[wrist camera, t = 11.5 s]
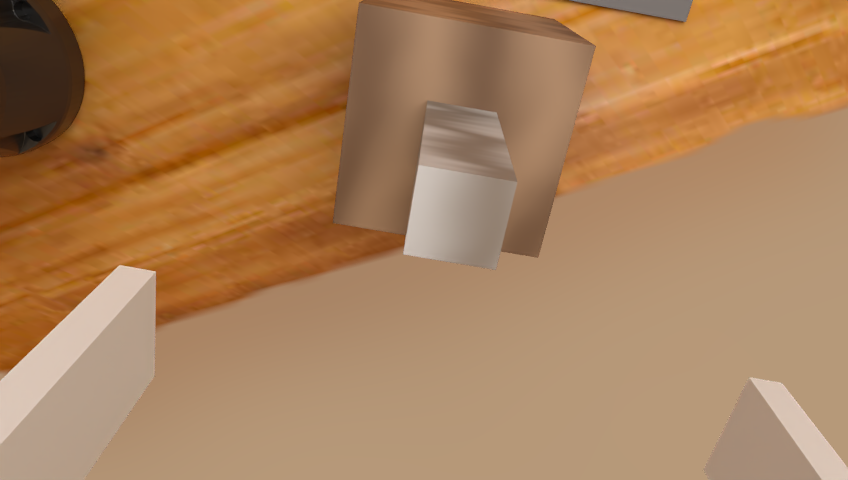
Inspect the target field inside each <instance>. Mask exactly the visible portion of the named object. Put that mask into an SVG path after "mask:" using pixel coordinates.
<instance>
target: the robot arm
mask: <svg viewBox="0 0 848 480" xmlns="http://www.w3.org/2000/svg"><path fill="white" fill-rule="evenodd" d="M83 92H84V67H83V61H82V57H81V53H80V49H79V46H78V43H77V41H76V38H75V36H74V34H73V31H72V29H71V28H70V26H69V24H68V22H67V20H66V19H65V17H64V16H63V14H62V13H61V11H60V10H59V9H58V7H57V6H56V5H55V3H54V2H53V1H52V0H0V157H7V156H14V155H19V154H23V153H26V152H29V151H32V150H34V149H36V148H38V147H40V146H42V145H44V144H47V143H49V142H50V141H52V140H54V139H55V138H57V137H58V136H60V135H61V134H62V133H63V132H64V131H65V130H66V129H67V128H68V127H69V126H70V124H71V123H72V121H73V120H74V118H75V116H76V115H77V113H78V110H79V108H80V105H81V102H82V97H83ZM155 311H156V271H150V270H145V269H139V268H133V267H128V266H122V265H119V266H118V267H117V268H116V269H115V270H114V271H113V272H112V273H111V274H110V275H109V276H108V277H107V278H106V279H105V280H104V281H103V282H102V283H101V284H100V285H99V286H98V287H97V288H95V289H94V290H93V291H92V292H91V293H90V294H89V295H88V296H87V297H86V298H85V299H84V300H83V301H82V302H81V303H80V304H79V305H78V306H77V307H76V308H75V309H74V310H73V311H72V312H71V313H70V314H69V315H68V316H67V317H66V318H65V319H63V320H62V321H61V322H60V323H59V324H58V325H57V326H56V327H55V328H54V329H53V330H52V331H51V332H50V333H49V334H48V335H47V336H46V337H45V338H44V339H43V340H42V341H41V342H40V343H39V344H38V345H37V346H36V347H35V348H34V349H33V350H31V351H30V352H29V353H28V354H27V355H26V356H25V357H24V358H23V359H22V360H21V361H20V362H19V363H18V364H17V365H16V366H15V367H14V368H13V369H12V370H11V371H10V372H9V373H8V374H7V375H6V376H5V377H4V378H3V379H2V380H0V480H84V479H85V477H86V476H87V475H88V473H89V472H90V470H91V469H92V467H93V466H94V464H95V463H96V461H97V460H98V458H99V457H100V456H101V454H102V452H103V451H104V450H105V448H106V447H107V445H108V444H109V442H110V441H111V439H112V438H113V436H114V435H115V434H116V432H117V431H118V429H119V428H120V426H121V425H122V423H123V422H124V420H125V419H126V417H127V416H128V414H129V413H130V412H131V410H132V409H133V407H134V406H135V404H136V402H137V401H138V400H139V398H140V397H141V395H142V394H143V392H144V391H145V389H146V388H147V387H148V385H149V384H150V382H151V381H152V379H153V378H154V376H155ZM704 471H705V473H706V475H707V477H708V479H709V480H848V468H847V466H846V465H845V464H844V463H843V461H842V460H841V458H840V457H839V456H838V455H837V453H836V452H835V451H834V449H833V448H832V447H831V446H830V444H829V443H828V442H827V440H826V439H825V438H824V437H823V435H822V434H821V433H820V431H819V430H818V429H817V428H816V426H815V425H814V424H813V422H812V421H811V420H810V419H809V417H808V416H807V415H806V413H805V412H804V411H803V410H802V408H801V407H800V406H799V405H798V403H797V402H796V400H795V399H794V398H793V397H792V395H791V394H790V393H789V391H788V390H787V389H786V388H785V386H784V385H783V384H782V383H779V382H773V381H767V380H762V379H756V378H751V377H749V378H748V380H747V382H746V384H745V386H744V389H743V390H742V393H741V395H740V397H739V399H738V401H737V403H736V405H735V407H734V409H733V411H732V413H731V415H730V417H729V419H728V421H727V423H726V425H725V427H724V429H723V431H722V433H721V435H720V437H719V439H718V441H717V443H716V445H715V448H714V450H713V452H712V454H711V456H710V458H709V460H708V462H707V464H706V466H705V468H704Z"/></svg>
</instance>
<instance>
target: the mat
mask: <svg viewBox="0 0 848 480" xmlns="http://www.w3.org/2000/svg"><path fill="white" fill-rule="evenodd" d="M571 1H576V2H581V3H587V4H592V5H598V6H603V7H608V8H614V9H619V10H625V11H630V12H635V13H641V14H646V15H652V16H657V17H662V18H668V19H673V20H679V21H684V22H686V20H687V17H688V14H689V11H690V8H691V4H692V1H693V0H571Z"/></svg>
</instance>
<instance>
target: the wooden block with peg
mask: <svg viewBox="0 0 848 480" xmlns="http://www.w3.org/2000/svg"><path fill="white" fill-rule="evenodd" d="M595 47H596V46H595V45H593V44H592V43H590V42H589V41H587V40H586V39H584V38H582V37H581V36H579V35H578V34H576V33H575V32H573V31H572V30H570V29H569V28H567V27H565V26H564V25H562V24H561V23H559V22H558V21H556V20H555V19H550V18H545V17H540V16H534V15H529V14H523V13H518V12H512V11H507V10H502V9H496V8H491V7H485V6H480V5H474V4H469V3H463V2H458V1H453V0H363V1H361V2H360V3H359V8H358V16H357V24H356V33H355V41H354V50H353V58H352V66H351V75H350V83H349V91H348V100H347V108H346V116H345V125H344V133H343V142H342V150H341V158H340V167H339V175H338V183H337V192H336V200H335V208H334V217H333V223H336V224H342V225H348V226H354V227H360V228H366V229H372V230H378V231H384V232H390V233H396V234H401V235H406V238H405V245H404V252H403V254H404V255H410V256H416V257H422V258H428V259H434V260H440V261H446V262H452V263H458V264H463V265H469V266H475V267H482V268H487V269H493V270H496V268H497V264H498V260H499V255H500V252H501V251H502V252H508V253H514V254H520V255H526V256H532V257H538V256H539V252H540V249H541V245H542V241H543V238H544V234H545V230H546V227H547V223H548V219H549V216H550V212H551V208H552V205H553V201H554V197H555V194H556V190H557V186H558V183H559V179H560V175H561V172H562V168H563V164H564V161H565V157H566V153H567V150H568V146H569V142H570V139H571V135H572V131H573V128H574V124H575V120H576V117H577V113H578V109H579V106H580V102H581V98H582V95H583V91H584V87H585V84H586V80H587V76H588V73H589V69H590V65H591V62H592V58H593V54H594V51H595Z"/></svg>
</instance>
